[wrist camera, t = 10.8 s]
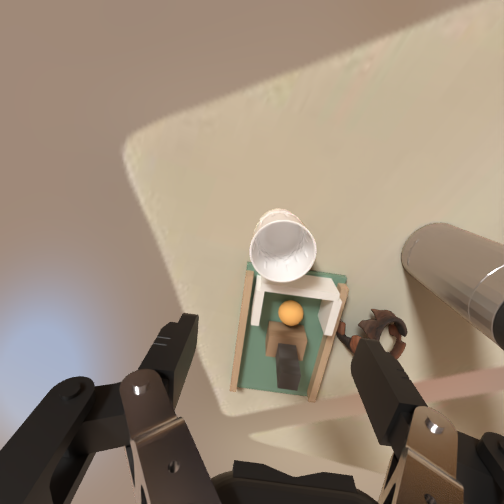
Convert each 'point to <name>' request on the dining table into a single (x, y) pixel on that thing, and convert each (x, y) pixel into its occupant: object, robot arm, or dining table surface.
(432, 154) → the dining table surface
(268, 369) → the pitch
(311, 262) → the white cup
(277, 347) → the striker
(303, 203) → the dining table surface
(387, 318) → the pottery mug
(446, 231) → the robot arm
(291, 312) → the ball
